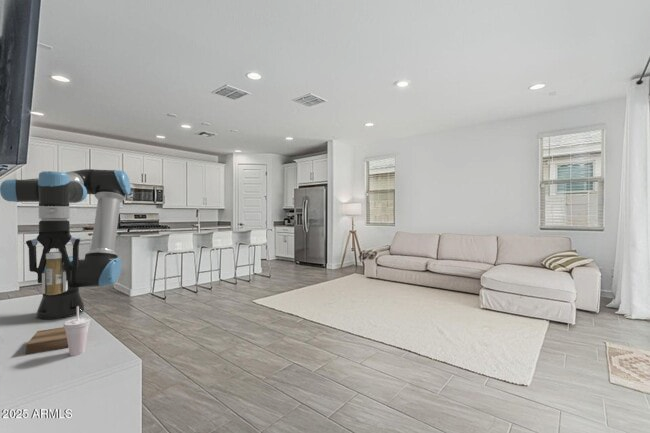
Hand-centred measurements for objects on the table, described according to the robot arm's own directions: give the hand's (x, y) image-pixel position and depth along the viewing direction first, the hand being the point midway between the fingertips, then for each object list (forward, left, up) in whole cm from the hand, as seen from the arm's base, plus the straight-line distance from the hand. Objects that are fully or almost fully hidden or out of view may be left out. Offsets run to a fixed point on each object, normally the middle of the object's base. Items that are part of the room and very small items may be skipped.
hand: (55, 291), depth 101 cm
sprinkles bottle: (0, 0, -1) cm, 1 cm away
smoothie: (+12, +7, -17) cm, 22 cm away
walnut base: (0, 0, -17) cm, 17 cm away
